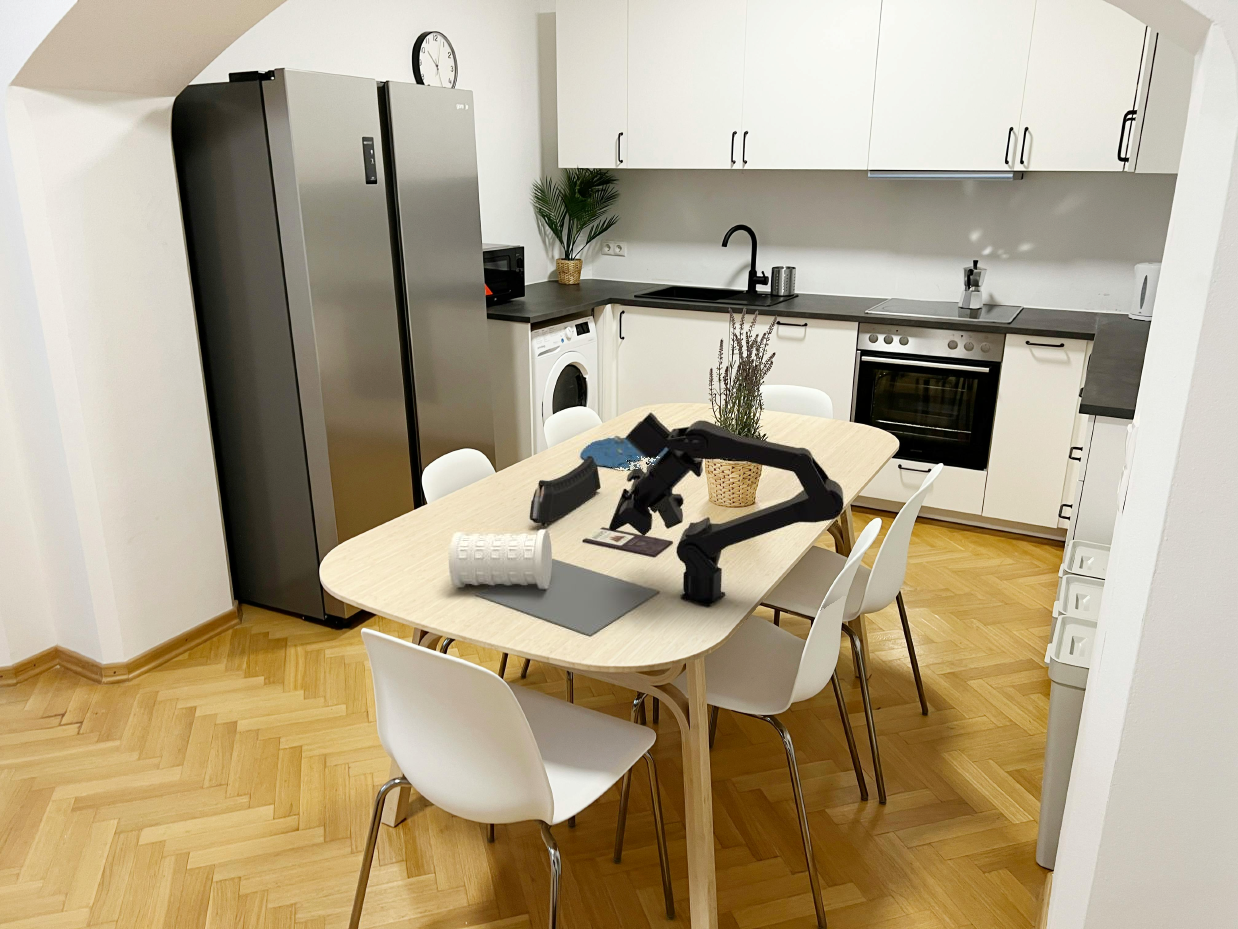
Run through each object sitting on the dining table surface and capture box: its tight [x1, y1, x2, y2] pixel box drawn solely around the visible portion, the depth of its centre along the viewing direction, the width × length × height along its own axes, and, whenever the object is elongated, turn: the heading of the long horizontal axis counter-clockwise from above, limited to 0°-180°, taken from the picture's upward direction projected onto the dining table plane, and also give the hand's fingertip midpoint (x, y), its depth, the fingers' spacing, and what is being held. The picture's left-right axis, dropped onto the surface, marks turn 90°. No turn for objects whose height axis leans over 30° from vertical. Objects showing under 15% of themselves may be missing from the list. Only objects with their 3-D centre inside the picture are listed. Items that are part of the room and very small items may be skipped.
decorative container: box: [448, 529, 553, 589], centre depth 176 cm, size 12×12×18 cm
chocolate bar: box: [581, 526, 674, 558], centre depth 198 cm, size 9×1×18 cm
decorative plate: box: [580, 435, 668, 469], centre depth 263 cm, size 30×30×5 cm
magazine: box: [529, 456, 601, 527], centre depth 218 cm, size 17×3×30 cm
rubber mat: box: [475, 558, 660, 637], centre depth 173 cm, size 28×22×1 cm
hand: (610, 529), depth 172 cm, fingers closed
